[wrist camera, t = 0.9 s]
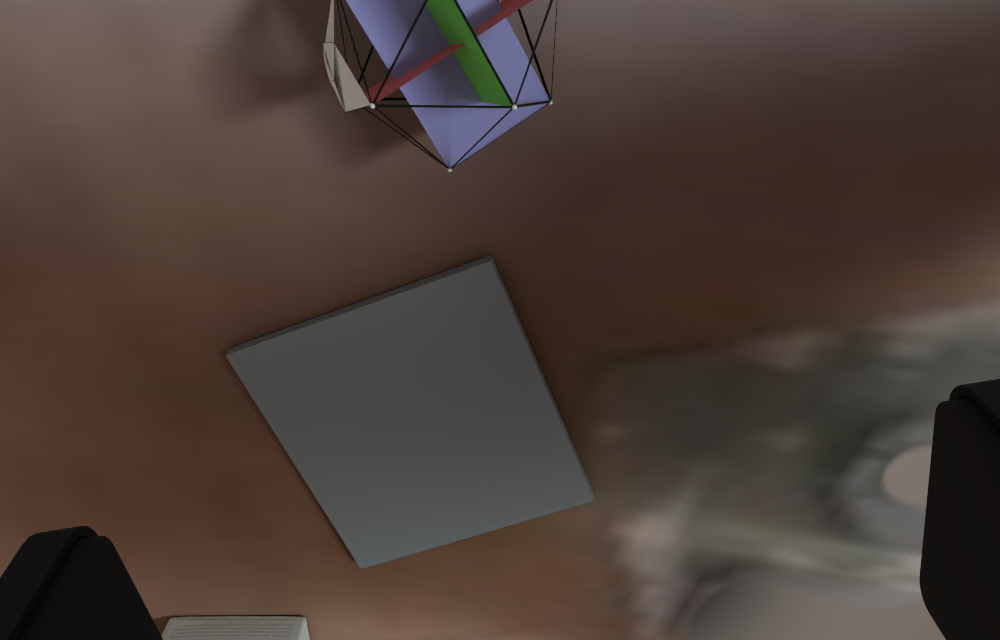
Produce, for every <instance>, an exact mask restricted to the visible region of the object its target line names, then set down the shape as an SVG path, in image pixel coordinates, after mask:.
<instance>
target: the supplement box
mask: <svg viewBox="0 0 1000 640" xmlns="http://www.w3.org/2000/svg"><path fill="white" fill-rule="evenodd" d="M161 637H162V639H163V640H310V638H309V633H308V628H307V622H306V618H305V617H294V616H292V617H286V616H265V617H261V616H244V617H242V616H218V617H213V616H206V617H194V616H190V617H173V618H171V619H169V621H168V623H167V625H166V627H165V629H164V631H163V634H162V636H161Z"/></svg>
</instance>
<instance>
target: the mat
mask: <svg viewBox="0 0 1000 640" xmlns="http://www.w3.org/2000/svg"><path fill="white" fill-rule="evenodd" d="M225 356H226V357H227V359H228V360H229V362H230V364H231V365H232V367H233V368H234V370H235V371H236V373H237V375H238V376H239V378H240V379H241V381H242V382H243V384H244V386H245V387H246V389H247V390H248V392H249V393H250V395H251V397H252V398H253V400H254V401H255V403H256V404H257V406H258V408H259V409H260V411H261V412H262V414H263V416H264V417H265V419H266V420H267V422H268V423H269V425H270V427H271V428H272V430H273V431H274V433H275V434H276V436H277V438H278V439H279V441H280V442H281V444H282V445H283V447H284V449H285V450H286V452H287V453H288V455H289V457H290V458H291V460H292V461H293V463H294V464H295V466H296V468H297V469H298V471H299V472H300V474H301V475H302V477H303V479H304V480H305V482H306V483H307V485H308V486H309V488H310V490H311V491H312V493H313V494H314V496H315V498H316V499H317V501H318V502H319V504H320V505H321V507H322V509H323V510H324V512H325V513H326V515H327V516H328V518H329V520H330V521H331V523H332V524H333V526H334V527H335V529H336V531H337V532H338V534H339V535H340V537H341V538H342V540H343V542H344V543H345V545H346V546H347V548H348V550H349V551H350V553H351V554H352V556H353V557H354V559H355V561H356V562H357V564H358V565H359V567H360V568H361V569H363V568H366V567H370V566H373V565H377V564H380V563H384V562H387V561H390V560H394V559H397V558H401V557H404V556H408V555H411V554H414V553H418V552H421V551H425V550H428V549H431V548H435V547H438V546H442V545H445V544H449V543H452V542H455V541H459V540H462V539H466V538H469V537H473V536H476V535H479V534H483V533H486V532H490V531H493V530H496V529H500V528H503V527H507V526H510V525H514V524H517V523H520V522H524V521H527V520H531V519H534V518H537V517H541V516H544V515H548V514H551V513H555V512H558V511H561V510H565V509H568V508H572V507H575V506H579V505H582V504H585V503H589V502H592V501H595V499H594V492H593V490H592V487H591V485H590V483H589V480H588V478H587V476H586V473H585V471H584V469H583V466H582V464H581V462H580V460H579V457H578V455H577V453H576V450H575V448H574V446H573V443H572V441H571V439H570V436H569V434H568V432H567V429H566V427H565V425H564V422H563V420H562V418H561V415H560V413H559V411H558V408H557V406H556V404H555V402H554V399H553V397H552V395H551V392H550V390H549V388H548V385H547V383H546V381H545V378H544V376H543V374H542V371H541V369H540V367H539V364H538V362H537V360H536V357H535V355H534V353H533V350H532V348H531V346H530V344H529V341H528V339H527V337H526V334H525V332H524V330H523V327H522V325H521V323H520V320H519V318H518V316H517V313H516V311H515V309H514V306H513V304H512V302H511V299H510V297H509V295H508V292H507V290H506V288H505V286H504V283H503V281H502V279H501V276H500V274H499V272H498V269H497V267H496V265H495V262H494V260H493V258H492V255H489V256H487V257H484V258H481V259H478V260H475V261H473V262H470V263H467V264H464V265H461V266H459V267H456V268H453V269H450V270H447V271H445V272H442V273H439V274H436V275H433V276H430V277H428V278H425V279H422V280H419V281H416V282H414V283H411V284H408V285H405V286H402V287H400V288H397V289H394V290H391V291H388V292H386V293H383V294H380V295H377V296H374V297H372V298H369V299H366V300H363V301H360V302H358V303H355V304H352V305H349V306H346V307H344V308H341V309H338V310H335V311H332V312H330V313H327V314H324V315H321V316H318V317H316V318H313V319H310V320H307V321H304V322H302V323H299V324H296V325H293V326H290V327H287V328H285V329H282V330H279V331H276V332H273V333H271V334H268V335H265V336H262V337H259V338H257V339H254V340H251V341H248V342H245V343H243V344H240V345H237V346H234V347H231V348H229V350H228V352H227V353H226V355H225Z"/></svg>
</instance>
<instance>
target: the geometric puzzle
mask: <svg viewBox="0 0 1000 640" xmlns="http://www.w3.org/2000/svg"><path fill="white" fill-rule="evenodd" d="M346 1H347V3H348V5H349V6H350V8H351V10H352V11H353V13H354V14H355V16H356V18H357V19H358V21H359V23H360V24H361V26H362V28H363V29H364V31H365V32H366V34H367V36H368V37H369V39H370V41H371V42H372V44H373V45H372V47H371V50H370V53H369V55H368V58H367V60H366V63H365V65H364V68H363V71H362V68H361V64H360V61H359V58H358V54H357V51H356V48H355V45H354V41H353V38H352V35H351V31H350V28H349V25H348V22H347V18H346V15H345V12H344V9H343V5H342V2H341V0H340V4H341V7H342V10H343V14H344V17H345V20H346V23H347V27H348V30H349V33H350V37H351V40H352V43H353V46H354V50H355V53H356V56H357V59H358V63H359V66H360V69H361V76H360V78H359V81H357V80H356V78H355V76H354V75H353V73H352V71H351V70H350V68H349V66H348V64H347V59H346V61H345V59H344V58H343V56H342V54H341V53H340V51H339V49H338V48H337V46H336V44H335V43H334V0H331V5H330V11H329V18H328V25H327V32H326V39H325V43H323V50H324V62H325V66H326V70H327V73H328V77H329V80H330V82H331V84H332V87H333V89H334V91H335V93H336V95H337V97H338V99H339V101H340V103H341V105H342V107H343V106H344V107H343V109H344V111H345V113H347V112H351V111H355V110H359V109H362V108H364V109H365V108H366V107H370V108H372V109H373V108H375V109H376V110H377V111H379V112H380V113H381V114H382V115H384V116H385V117H386V118H387V119H388V120H390V121H391V122H392V123H393V124H394V125H396V126H397V127H398V128H399V129H400V130H402V131H403V132H404V133H405V134H407V133H406V132H405V131H404V130H403V129H401V128H400V127H399V126H398V125H397V124H395V123H394V122H393V121H392V120H391V119H389V118H388V117H387V116H386V115H385V114H383V113H382V112H381V111H380V110H378V109H377V108H376V107H412V109H413V111H414V112H415V114H416V116H417V117H418V119H419V120H420V122H421V124H422V125H423V127H424V129H425V130H426V132H427V134H428V135H429V137H430V138H431V140H432V142H433V143H434V145H435V147H436V148H437V150H438V151H439V153H440V155H441V156H442V158H443V160H444V161H445V163H446V165H447V166H448V167H447V166H446V165H445V164H444V163H442V162H441V161H440V160H439V159H438V158H436V157H435V156H434V155H433V154H432V153H430V152H429V151H428V150H427V149H426V148H424V147H423V146H422V145H421V144H420V143H418V142H417V141H416V140H415V139H414V138H412V137H411V136H410V135H409V134H407V135H408V136H409V137H410V138H411V139H413V140H414V141H415V142H416V143H417V144H419V145H420V146H421V147H422V148H424V149H425V150H426V151H427V152H428V153H430V154H431V155H432V156H431V155H430V154H428V153H427V152H426V151H424V150H423V149H421V148H420V147H419V146H417V145H416V144H414V143H413V142H412V141H410V140H409V139H407V138H406V137H405V136H403V135H402V134H400V133H399V132H398V131H396V130H395V129H393V128H392V127H391V126H389V125H388V124H386V123H385V122H384V121H382V120H381V119H379V118H378V117H377V116H375V115H374V114H372V113H371V112H370V111H368V110H367V109H365V110H367V111H368V112H369V113H371V114H372V115H374V116H375V117H376V118H378V119H379V120H380V121H382V122H383V123H385V124H386V125H387V126H389V127H390V128H392V129H393V130H394V131H396V132H397V133H399V134H400V135H401V136H403V137H404V138H406V139H407V140H408V141H410V142H411V143H413V144H414V145H415V146H417V147H418V148H420V149H421V150H422V151H424V152H425V153H427V154H428V155H429V156H431V157H432V158H434V159H435V158H436V159H435V160H436V161H438V162H439V163H441V164H442V165H443V166H445V167H446V168H448V169H447V171H448V172H451V171H452V169H453V168H454V167H456V166H457V165H459V164H460V163H462V162H463V161H465V160H466V159H468V158H469V157H470V156H472V155H473V154H475V153H476V152H478V151H479V150H481V149H482V148H484V147H485V146H487V145H488V144H490V143H491V142H493V141H494V140H496V139H497V138H499V137H500V136H502V135H503V134H505V133H506V132H508V131H509V130H510V129H512V128H513V127H515V126H516V125H518V124H519V123H521V122H522V121H524V120H525V119H527V118H528V117H530V116H531V115H533V114H534V113H536V112H537V111H539V110H540V109H542V108H543V107H545V106H546V105H548V104H549V105H551V104H552V103H553V101H552V100H551V99H552V89H551V98H550V95H549V92H548V89H547V86H546V84H545V81H544V78H543V75H542V72H541V69H540V66H539V63H538V60H537V57H536V54H535V50H536V47H537V44H538V42H539V39H540V36H541V33H542V30H543V27H544V25H545V22H546V19H547V16H548V13H549V10H550V8H551V5H552V2H553V0H551V1H550V4H549V7H548V10H547V13H546V15H545V18H544V21H543V24H542V27H541V30H540V32H539V35H538V38H537V41H536V44H535V47H534V49H533V46H532V43H531V40H530V37H529V34H528V31H527V28H526V25H525V22H524V19H523V16H522V14H521V11H520V8H521V7H523V6H524V5H526V4H527V3H529V2H530V1H532V0H503V1H502V2H500V3H498V1H497V0H346ZM337 5H338V0H337ZM517 10H518V12H519V15H520V18H521V21H522V24H523V27H524V30H525V32H526V35H527V38H528V41H529V44H530V47H531V50H532V55H531V58H530V61H529V59H528V57H527V55H526V54H525V52H524V50H523V48H522V46H521V44H520V42H519V40H518V39H517V37H516V35H515V33H514V31H513V29H512V27H511V25H510V24H509V22H508V20H507V18H506V17H508V16H509V15H511V14H512V13H514V12H515V11H517ZM338 11H339V6H338ZM556 16H557V6H556ZM339 18H340V12H339ZM340 25H341V19H340ZM341 31H342V26H341ZM555 32H556V23H555ZM342 38H343V32H342ZM343 45H344V39H343ZM374 47H375V49H376V50H377V52H378V54H379V55H380V57H381V59H382V60H383V62H384V63H385V65H386V67H387V68H388V70H389V71H388V73H387V75H386V77H385V79H383V80H382V81H380V82H378V83H377V84H375V85H374V86H372V87H371V88H369V89H368V87H367V84H366V81H365V77H364V71H365V69H366V66H367V64H368V61H369V58H370V56H371V53H372V51H373V48H374ZM554 49H555V39H554ZM344 51H345V46H344ZM533 56H534V59H535V62H536V65H537V67H538V70H539V73H540V76H541V79H542V82H543V85H544V87H543V85H542V84H541V82H540V80H539V78H538V76H537V74H536V72H535V70H534V69H533V67H532V65H531V61H532V58H533ZM345 58H346V52H345ZM553 66H554V56H553ZM390 73H391V75H390ZM334 76H335V79H336V83H337V86H338V89H339V93H340V96H341V99H342V101H341V99H340V96H339V93H338V90H337V87H336V84H335V82H334ZM362 76H363V79H364V82H365V86H366V89H367V90H366V91H365V92H363V90H362V88H361V86H360V85H359V84H360V82H361V79H362ZM552 82H553V73H552ZM398 88H400V90H401V91H402V93H403V94H404V96H405V98H385V97H386V96H388V95H389V94H391V93H392V92H394V91H395V90H397V89H398ZM544 88H545V89H544ZM384 100H407V101H408V103H409V104H410V105H375V104H376V103H377V102H379V101H384ZM342 103H343V104H342Z"/></svg>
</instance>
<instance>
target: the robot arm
mask: <svg viewBox="0 0 1000 640" xmlns="http://www.w3.org/2000/svg"><path fill="white" fill-rule="evenodd" d="M920 588H921V593H922V597H923V600H924V603H925V605H926V608H927V609H928V611H929V613H930V615H931V616H932V618H933V620H934V621H935V623H936V625H937V626H938V628H939V629H940V631H941V632H942V634H943V636H944V637H945V639H946V640H1000V379H996V380H990V381H984V382H978V383H971V384H965V385H959V386H957V387H955V388H954V389H953V391H952V392H951V394H950V399H949V401H944V402H941V403H939V405H938V406H937V408H936V413H935V422H934V432H933V443H932V453H931V464H930V475H929V485H928V495H927V506H926V516H925V527H924V537H923V548H922V558H921V569H920ZM0 640H163V639H162V637H161V635H160V633H159V631H158V629H157V627H156V625H155V623H154V621H153V619H152V618H151V616H150V614H149V612H148V610H147V608H146V606H145V604H144V602H143V600H142V598H141V596H140V595H139V593H138V591H137V589H136V587H135V585H134V583H133V581H132V579H131V577H130V575H129V573H128V572H127V570H126V568H125V566H124V564H123V562H122V560H121V558H120V556H119V554H118V552H117V551H116V549H115V547H114V545H113V543H112V542H111V541H110V539H108V538H107V537H105V536H98V535H97V534H96V532H95V531H94V530H93V529H91V528H89V527H87V526H79V527H73V528H66V529H60V530H54V531H48V532H41V533H36V534H34V535H32V536H30V537H29V538H28V539H27V540H26V541H25V542H24V543H23V545H22V546H21V548H20V549H19V551H18V552H17V554H16V555H15V557H14V558H13V560H12V561H11V563H10V564H9V566H8V567H7V569H6V570H5V572H4V573H3V575H2V576H1V578H0Z"/></svg>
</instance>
